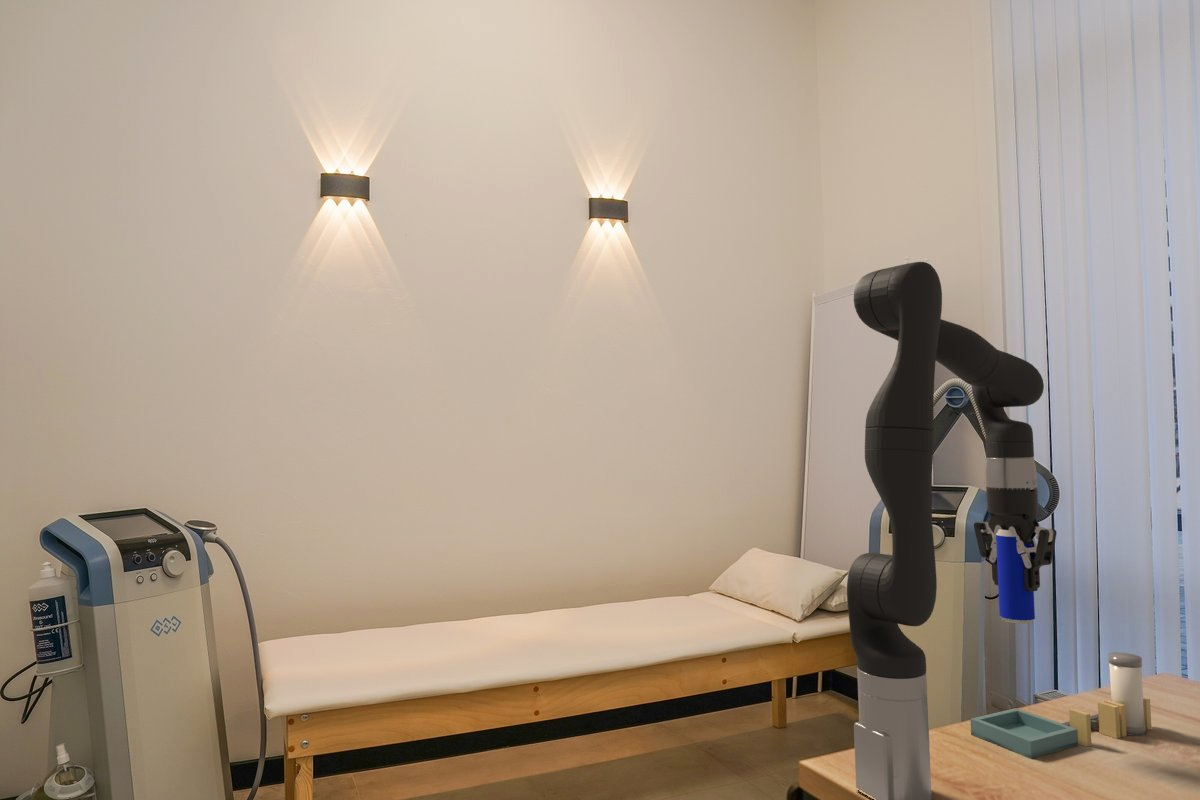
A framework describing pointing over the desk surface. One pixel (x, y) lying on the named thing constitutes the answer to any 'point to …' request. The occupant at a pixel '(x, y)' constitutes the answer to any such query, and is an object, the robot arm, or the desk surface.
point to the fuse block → (1104, 720)
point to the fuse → (1128, 689)
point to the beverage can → (1012, 581)
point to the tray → (1024, 732)
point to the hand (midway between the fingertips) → (1016, 587)
